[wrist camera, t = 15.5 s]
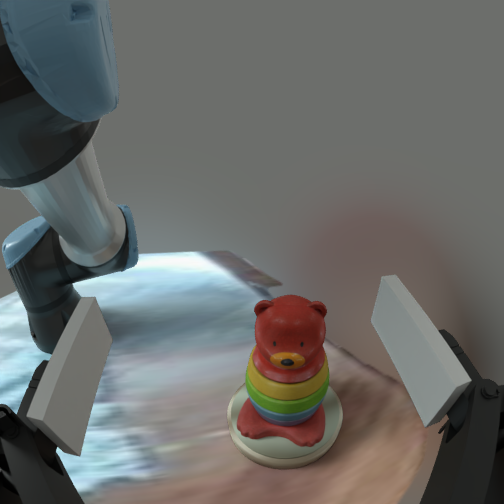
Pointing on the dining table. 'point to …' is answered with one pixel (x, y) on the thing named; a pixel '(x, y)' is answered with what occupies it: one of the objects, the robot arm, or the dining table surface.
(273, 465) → the stand
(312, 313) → the stacking bear
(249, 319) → the dining table surface
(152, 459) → the dining table surface
